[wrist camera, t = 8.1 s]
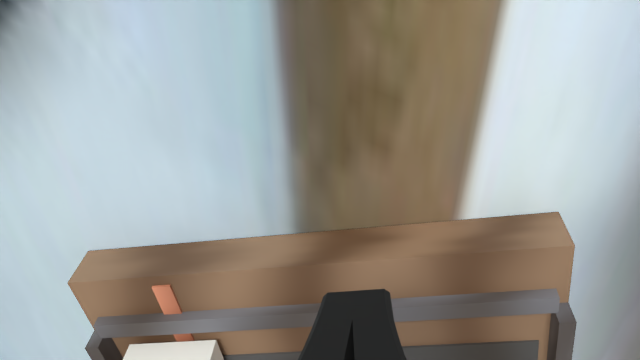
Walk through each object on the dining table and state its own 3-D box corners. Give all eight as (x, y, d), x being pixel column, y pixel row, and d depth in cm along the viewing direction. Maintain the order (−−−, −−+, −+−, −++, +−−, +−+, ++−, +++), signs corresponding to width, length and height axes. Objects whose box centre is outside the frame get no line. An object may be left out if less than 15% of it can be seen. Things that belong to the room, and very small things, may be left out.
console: (558, 211, 21) (583, 264, 19) (541, 398, 28) (558, 456, 25) (88, 251, 24) (55, 300, 22) (172, 410, 31) (154, 463, 28)
